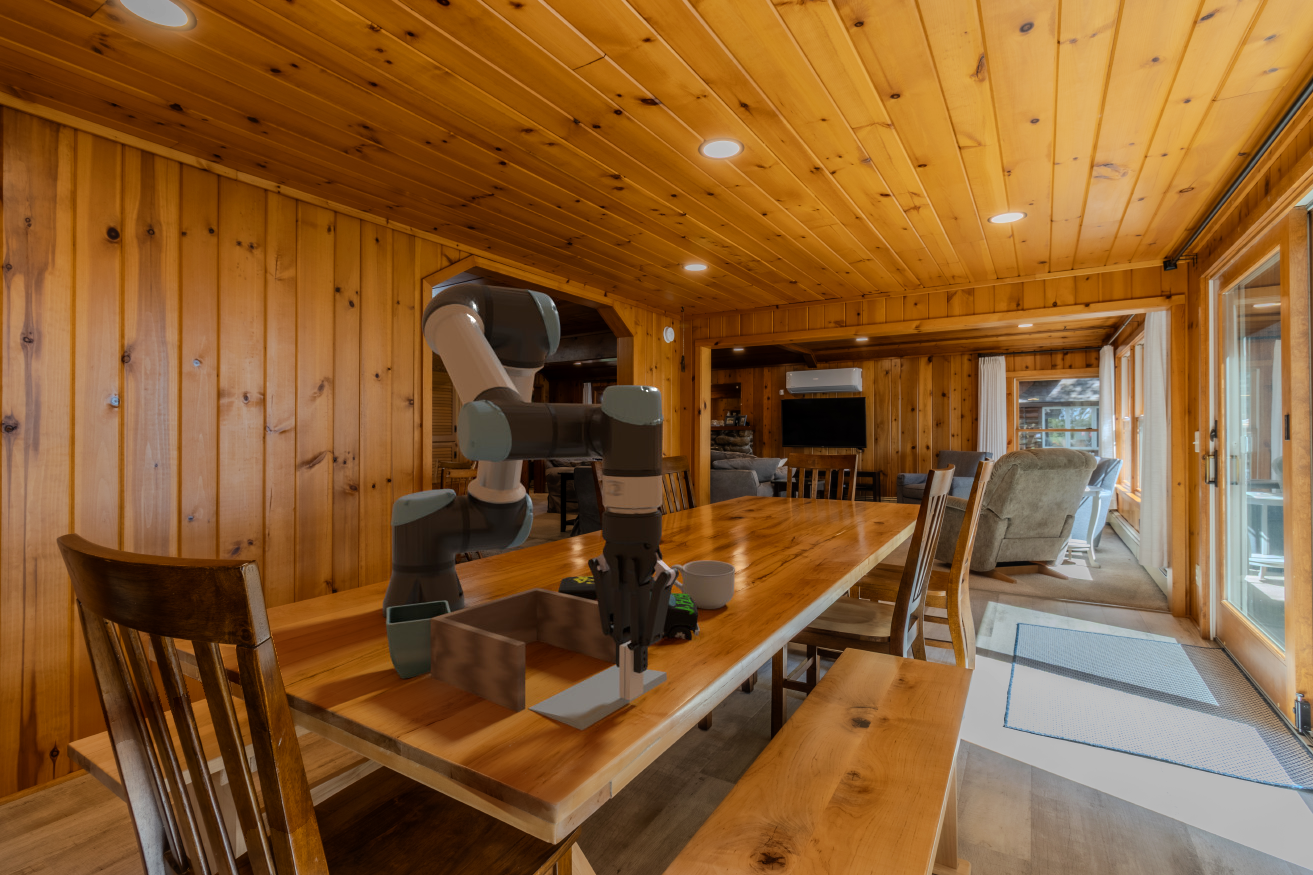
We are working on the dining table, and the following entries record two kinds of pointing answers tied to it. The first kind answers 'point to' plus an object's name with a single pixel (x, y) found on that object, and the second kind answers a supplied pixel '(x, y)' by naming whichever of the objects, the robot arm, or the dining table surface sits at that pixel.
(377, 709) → the dining table surface
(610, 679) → the panel
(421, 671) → the flower pot
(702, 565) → the teacup
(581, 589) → the toy van
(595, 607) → the crate
